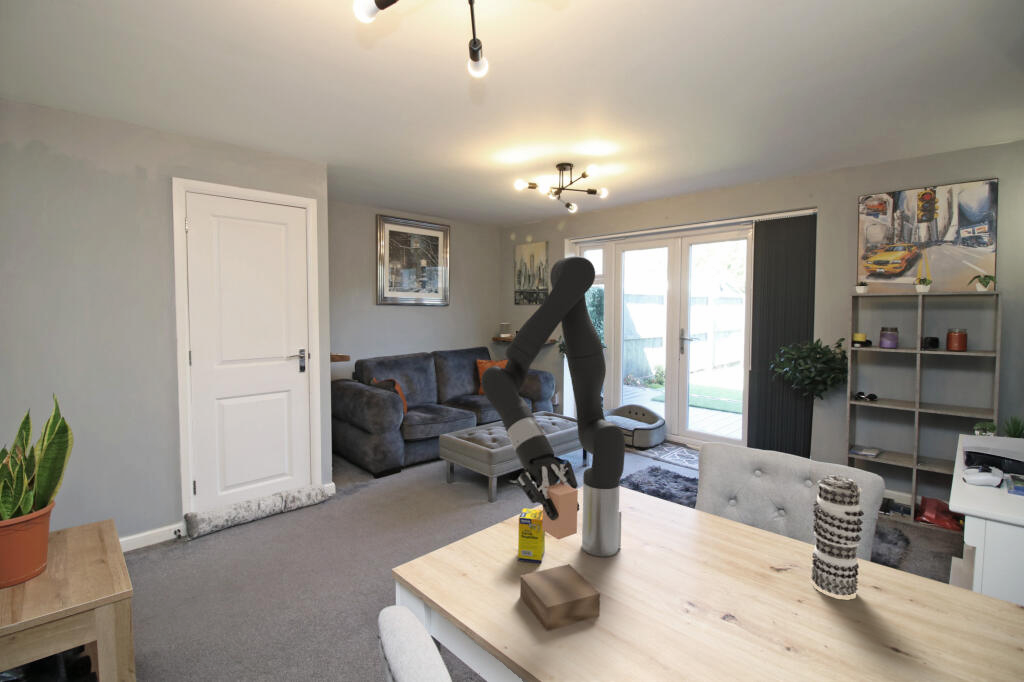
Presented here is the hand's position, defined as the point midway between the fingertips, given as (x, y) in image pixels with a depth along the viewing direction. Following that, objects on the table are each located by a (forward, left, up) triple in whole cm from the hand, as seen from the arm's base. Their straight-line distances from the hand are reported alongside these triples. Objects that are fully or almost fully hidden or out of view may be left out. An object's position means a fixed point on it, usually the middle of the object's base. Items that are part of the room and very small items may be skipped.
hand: (566, 514), depth 97 cm
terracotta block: (0, -2, -4) cm, 5 cm away
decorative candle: (-54, +29, -20) cm, 65 cm away
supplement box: (-8, -21, -20) cm, 30 cm away
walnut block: (0, -2, -20) cm, 20 cm away
